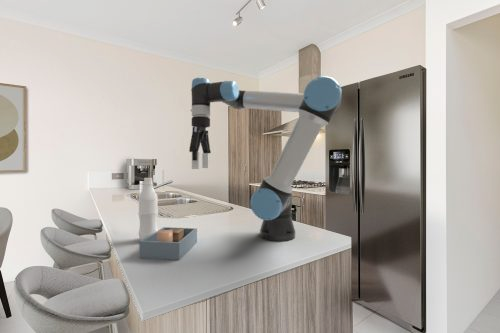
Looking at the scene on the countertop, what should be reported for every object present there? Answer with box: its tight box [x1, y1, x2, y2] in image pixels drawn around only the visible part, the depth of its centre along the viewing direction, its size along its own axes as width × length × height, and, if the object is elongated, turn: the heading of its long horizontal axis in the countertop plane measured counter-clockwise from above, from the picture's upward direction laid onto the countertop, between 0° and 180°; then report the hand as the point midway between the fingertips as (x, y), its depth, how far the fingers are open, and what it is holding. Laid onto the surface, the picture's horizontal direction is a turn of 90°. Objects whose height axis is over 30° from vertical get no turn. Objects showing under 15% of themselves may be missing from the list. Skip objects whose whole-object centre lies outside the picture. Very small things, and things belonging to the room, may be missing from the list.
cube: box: [170, 229, 184, 242], centre depth 95 cm, size 5×5×5 cm
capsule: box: [157, 230, 173, 242], centre depth 86 cm, size 5×5×7 cm
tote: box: [138, 226, 198, 261], centre depth 90 cm, size 14×18×6 cm
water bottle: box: [138, 177, 159, 241], centre depth 100 cm, size 7×7×25 cm
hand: (200, 168), depth 105 cm, fingers open, 13 cm apart
